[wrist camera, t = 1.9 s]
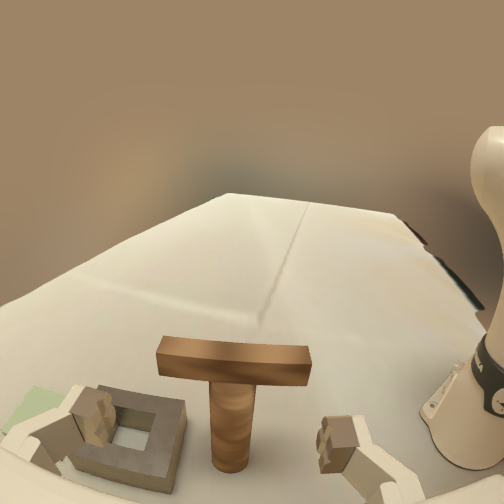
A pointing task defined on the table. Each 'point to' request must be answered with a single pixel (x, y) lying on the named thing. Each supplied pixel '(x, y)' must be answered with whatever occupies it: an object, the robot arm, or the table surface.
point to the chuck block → (135, 461)
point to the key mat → (33, 406)
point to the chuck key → (232, 385)
